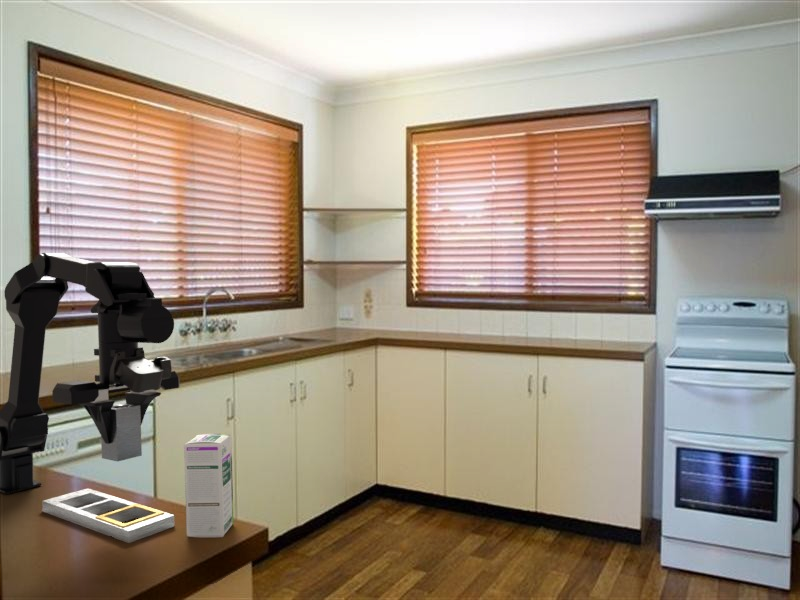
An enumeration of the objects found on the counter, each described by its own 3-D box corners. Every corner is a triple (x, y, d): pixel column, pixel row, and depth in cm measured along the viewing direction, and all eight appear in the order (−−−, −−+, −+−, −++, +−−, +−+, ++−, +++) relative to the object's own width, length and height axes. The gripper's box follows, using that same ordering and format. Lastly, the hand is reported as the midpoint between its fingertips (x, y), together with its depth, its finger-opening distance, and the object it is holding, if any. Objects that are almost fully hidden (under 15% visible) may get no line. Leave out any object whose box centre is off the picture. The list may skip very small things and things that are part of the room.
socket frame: (42, 511, 111) (42, 499, 111) (87, 498, 117) (87, 487, 117) (128, 543, 97) (128, 529, 97) (174, 526, 104) (174, 513, 104)
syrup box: (223, 537, 99) (222, 442, 99) (184, 537, 100) (183, 442, 99) (234, 523, 105) (233, 433, 105) (197, 523, 105) (196, 433, 105)
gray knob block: (101, 458, 104) (100, 406, 104) (125, 452, 108) (124, 402, 107) (117, 461, 102) (116, 408, 102) (141, 455, 105) (140, 404, 105)
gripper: (91, 348, 92) (95, 460, 92) (200, 338, 108) (202, 434, 108) (48, 346, 98) (52, 450, 99) (157, 337, 114) (159, 427, 114)
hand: (121, 440), depth 105 cm, fingers closed on gray knob block, 4 cm apart
